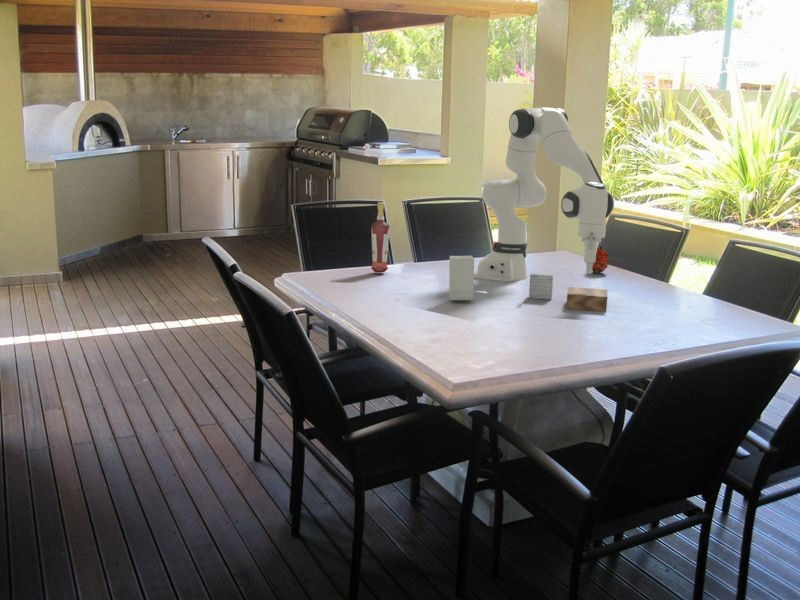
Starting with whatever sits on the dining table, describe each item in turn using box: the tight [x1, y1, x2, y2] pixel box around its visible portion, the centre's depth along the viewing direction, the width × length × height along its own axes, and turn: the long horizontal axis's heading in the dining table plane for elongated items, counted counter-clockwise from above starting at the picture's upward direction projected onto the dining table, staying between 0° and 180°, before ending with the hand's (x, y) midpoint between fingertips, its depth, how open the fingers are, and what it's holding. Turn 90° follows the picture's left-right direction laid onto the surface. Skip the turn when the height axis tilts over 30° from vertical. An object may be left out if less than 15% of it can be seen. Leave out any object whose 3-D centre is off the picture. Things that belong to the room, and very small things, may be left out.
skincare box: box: [448, 255, 475, 301], centre depth 293 cm, size 8×6×15 cm
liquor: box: [370, 201, 390, 273], centre depth 340 cm, size 7×7×28 cm
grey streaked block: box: [528, 272, 554, 301], centre depth 297 cm, size 8×4×9 cm, turn 77°
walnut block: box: [565, 286, 608, 312], centre depth 286 cm, size 13×13×5 cm
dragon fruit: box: [592, 245, 610, 274], centre depth 347 cm, size 8×8×12 cm
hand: (589, 272), depth 284 cm, fingers open, 4 cm apart
